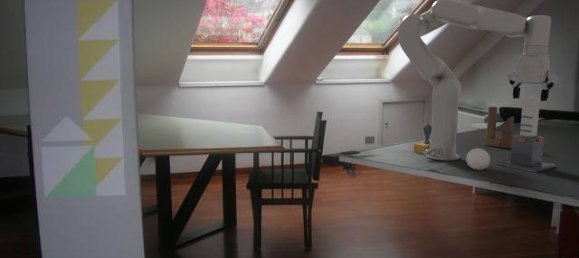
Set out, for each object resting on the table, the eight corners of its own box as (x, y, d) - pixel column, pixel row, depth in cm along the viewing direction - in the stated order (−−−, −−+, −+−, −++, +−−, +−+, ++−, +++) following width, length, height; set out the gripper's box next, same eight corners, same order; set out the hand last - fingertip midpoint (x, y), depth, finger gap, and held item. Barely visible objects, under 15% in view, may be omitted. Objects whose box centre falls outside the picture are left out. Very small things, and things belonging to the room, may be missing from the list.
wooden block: (508, 148, 185) (512, 108, 183) (484, 145, 193) (486, 106, 190) (511, 147, 188) (515, 107, 185) (487, 144, 196) (490, 106, 193)
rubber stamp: (424, 154, 175) (425, 126, 173) (413, 152, 180) (414, 124, 178) (439, 151, 180) (441, 124, 178) (428, 149, 185) (429, 122, 183)
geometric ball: (477, 175, 152) (486, 156, 153) (488, 173, 144) (498, 153, 146) (458, 164, 153) (468, 146, 154) (468, 161, 145) (478, 142, 146)
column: (529, 148, 151) (533, 98, 148) (518, 146, 154) (522, 97, 151) (536, 146, 153) (540, 97, 150) (525, 144, 156) (529, 96, 154)
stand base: (535, 172, 145) (538, 141, 143) (496, 164, 157) (499, 135, 155) (555, 166, 153) (558, 137, 151) (516, 159, 164) (519, 132, 163)
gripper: (505, 51, 153) (500, 97, 156) (556, 51, 139) (549, 102, 142) (516, 51, 157) (511, 97, 160) (566, 51, 143) (560, 101, 146)
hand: (529, 99), depth 151 cm, fingers open, 9 cm apart
